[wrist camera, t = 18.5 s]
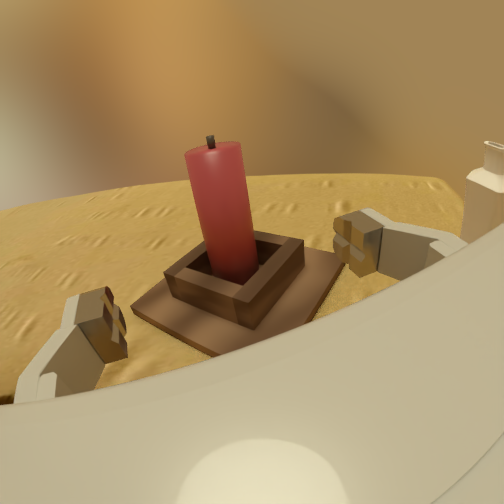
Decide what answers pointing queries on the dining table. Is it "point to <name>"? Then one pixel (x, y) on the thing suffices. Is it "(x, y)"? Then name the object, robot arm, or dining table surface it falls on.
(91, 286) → the dining table surface
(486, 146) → the perfume bottle
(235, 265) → the burgundy candle
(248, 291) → the walnut stand
